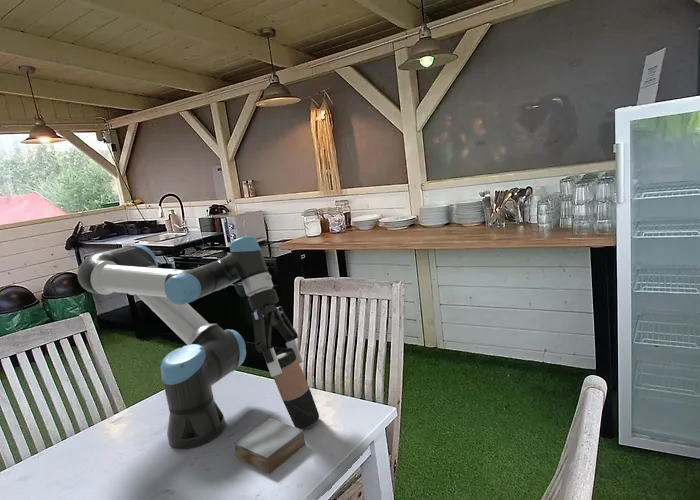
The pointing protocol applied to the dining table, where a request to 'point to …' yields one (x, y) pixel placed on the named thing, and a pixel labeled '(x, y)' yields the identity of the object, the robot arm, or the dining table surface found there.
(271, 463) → the walnut stand
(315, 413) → the travel mug
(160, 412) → the dining table surface
